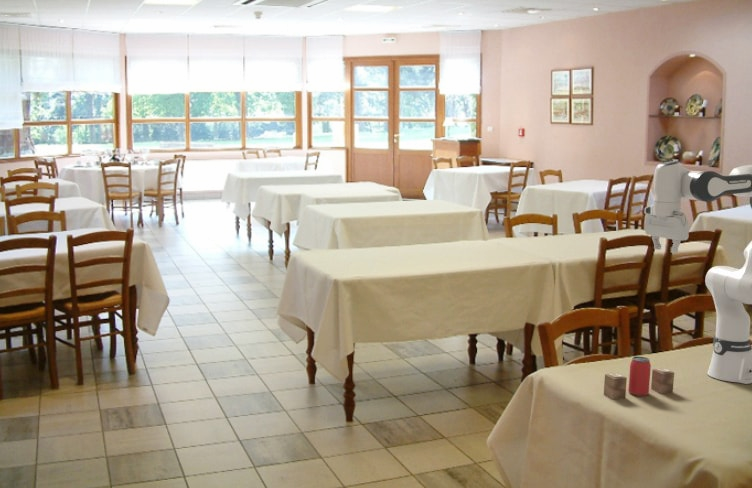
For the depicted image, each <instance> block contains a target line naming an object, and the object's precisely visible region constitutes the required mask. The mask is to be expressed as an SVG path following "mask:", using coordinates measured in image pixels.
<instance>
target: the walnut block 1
mask: <svg viewBox="0 0 752 488" xmlns="http://www.w3.org/2000/svg"><path fill="white" fill-rule="evenodd" d="M626 391H627V377H626V376H624V375H623V374H621V373H619V372H616V373H606V374H604V385H603V395H604V396H606V397H607V398H609V399H611V400H618V399H619V400H621V399H626V394H627V392H626Z"/></svg>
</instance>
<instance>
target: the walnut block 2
mask: <svg viewBox="0 0 752 488" xmlns="http://www.w3.org/2000/svg"><path fill="white" fill-rule="evenodd" d="M674 381H675V372H674V371H672V370H670V369H667V368H666V367H663V368H662V367H661V368H654V369H651V383H650V384H651V386H650V389H651V390H652V391H654V392H656V393H658V394H659V395H662V393H663V394H670V393H673V392H674Z"/></svg>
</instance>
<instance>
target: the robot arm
mask: <svg viewBox="0 0 752 488" xmlns="http://www.w3.org/2000/svg"><path fill="white" fill-rule="evenodd" d="M653 193H654V195H653V200H652V201H653V202H652V204H651V205H650V204H649V205H648V206H647V207H644V211H643V213H644V214H645V216H644V231H645V234H646V235H647V236H651V240H652V242H653V249H654V250H657V251H658V250H659V251H660V250H662V244H661V243H660V239H661V238H663V239H669V240H672V243H673V244H672V246H671V247H670V253H673V254H677V253H678V252H679V248H680V245H681V241H687V240H688V239H689V237H690V236H689V223H688V219H687V216H686V214H685V213H684V212H682V210H681V207H682V205H681V204H682V200H690V201H691V200H692V201H700V202H701V201H702V202H705V203H711V202H714V201H717V200H719V199H720V198H722V197H723V196H726V195H734V196H736V197H741V198H744V197H745V198H749V205H750V208H751V209H752V164H747V165H741V166H737V167H734V168H733V169H732V170H731V171H730V173H729V174H728V175H723V174H720V173H718V172H716V171H713V170H710V171H709V170H704V171H701V170H691V169H689V168H687V167H686V166H685V167H684V166H683V165H682V164H681V163H680V162H679V161H676V160H669V161H663V162H660V163H658V164H657V165H656V166H655V170H654V174H653ZM681 199H682V200H681ZM743 257H744V260H745V262H744V263H743V266H742V267H740V269H739V268H736V267H733V266H728V265H715V266H713V267H711V268H709V269H708V271H707V272H706V275H705V280H704V282H705V286H706V288H707V289H708V291H709V292H710V294H711V296H712V300H713V303H714V307H715V313H716V322H715V323H716V325H715V326H716V327H715V335H714V336H713V343H712V344H713V345H712V346H713V349H712V350H713V351H712V355H711V360H710V363H709V367H708V370H707V375H708V376H709V377H711V378H714V379H716V380H719V381H720V380H721V381H724V382H725V381H726V382H731V383H732V382H733V383H738V384H739V383H740V384H744V385H745V384H746V385H748V384H752V339H750V329H751V317H750V314H749V313H748V311H747V310H746V309H745V307H744V304H745V305H746V304H747V305H752V240H751V241H750V242H749V243H748V244H747V246H746V247H745V248H744V250H743Z"/></svg>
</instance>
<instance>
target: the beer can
mask: <svg viewBox="0 0 752 488" xmlns="http://www.w3.org/2000/svg"><path fill="white" fill-rule="evenodd" d="M629 365H630V366H629V378H628V389H627V390H628V392H629V394H630V395H634V396H636V397H637V396H638V397H645V396H647V395H649V394H650V382H651V381H650V380H651V370H652V369H651V368H652V367H651V362H650V358H648V357H645V356H633V357H632V358H631V361H630V364H629Z"/></svg>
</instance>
